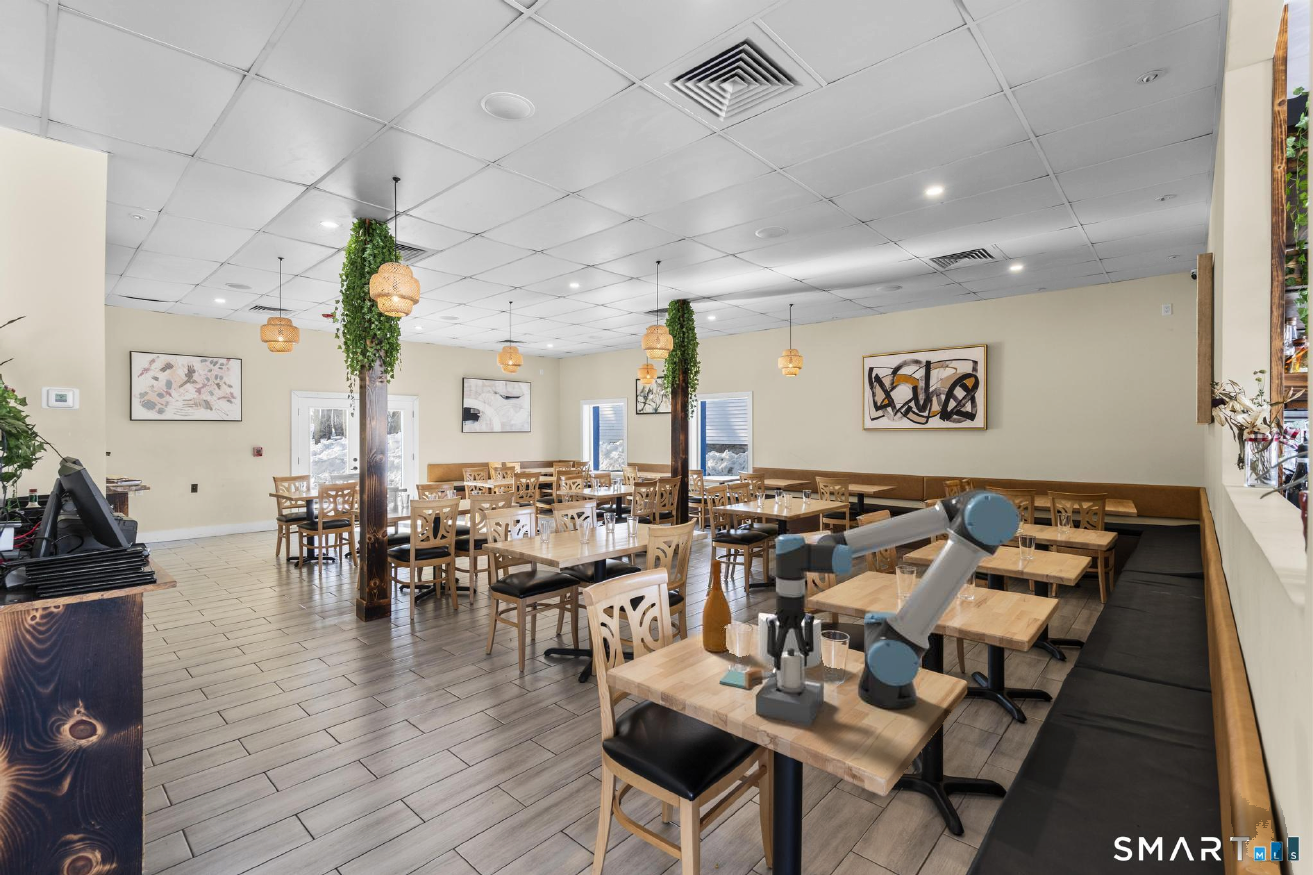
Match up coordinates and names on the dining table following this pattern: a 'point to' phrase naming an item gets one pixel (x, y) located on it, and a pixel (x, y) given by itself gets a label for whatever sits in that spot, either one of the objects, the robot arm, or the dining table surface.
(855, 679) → the dining table surface
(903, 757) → the dining table surface
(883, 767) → the dining table surface
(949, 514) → the robot arm
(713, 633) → the wine bottle
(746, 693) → the dining table surface
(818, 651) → the container
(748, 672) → the clip lever
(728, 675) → the pad
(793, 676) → the plug
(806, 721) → the socket block
